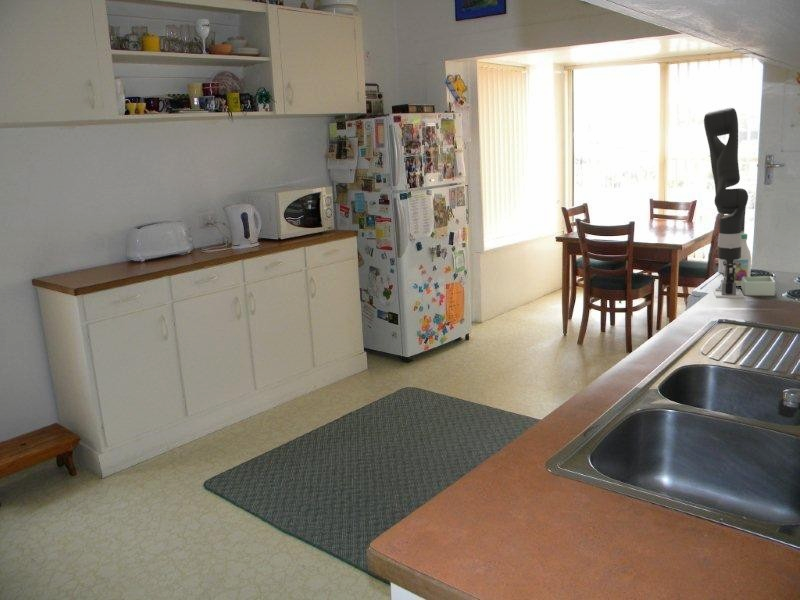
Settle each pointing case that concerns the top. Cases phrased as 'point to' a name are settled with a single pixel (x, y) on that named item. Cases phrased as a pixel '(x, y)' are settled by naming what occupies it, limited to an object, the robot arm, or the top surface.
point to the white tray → (718, 295)
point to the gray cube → (723, 288)
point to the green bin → (758, 286)
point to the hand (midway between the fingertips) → (728, 291)
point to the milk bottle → (743, 262)
